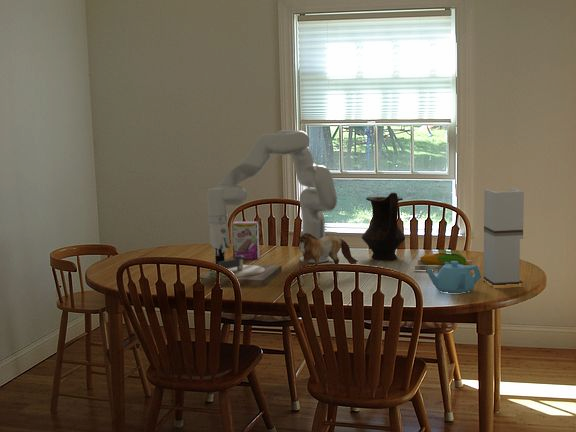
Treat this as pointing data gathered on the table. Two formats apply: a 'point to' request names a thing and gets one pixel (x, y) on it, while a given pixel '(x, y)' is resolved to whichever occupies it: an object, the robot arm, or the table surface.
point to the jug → (384, 228)
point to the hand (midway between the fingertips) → (220, 265)
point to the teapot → (455, 277)
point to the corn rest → (432, 266)
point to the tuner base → (245, 275)
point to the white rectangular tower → (502, 235)
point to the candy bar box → (246, 239)
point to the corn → (443, 258)
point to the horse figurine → (323, 250)
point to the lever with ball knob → (233, 262)
